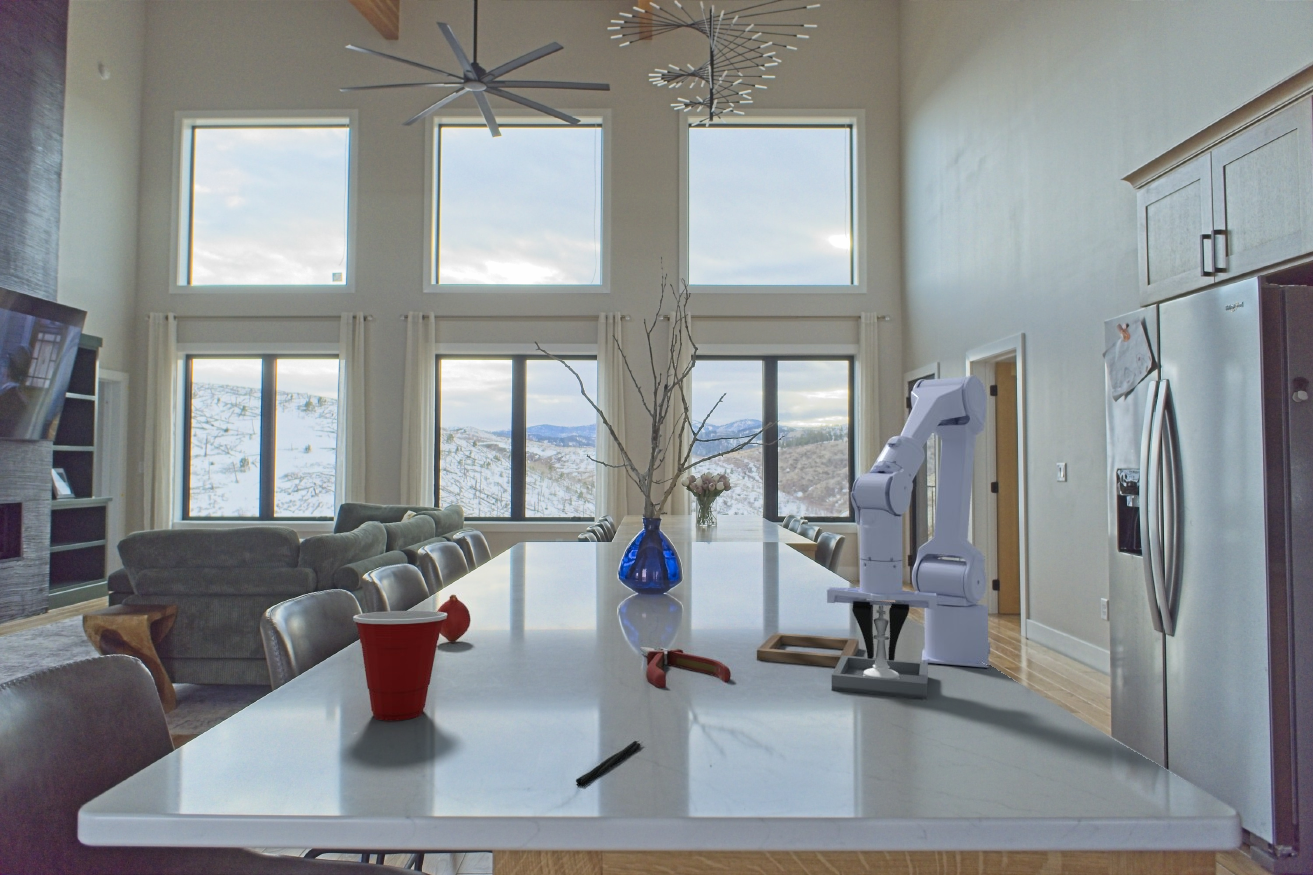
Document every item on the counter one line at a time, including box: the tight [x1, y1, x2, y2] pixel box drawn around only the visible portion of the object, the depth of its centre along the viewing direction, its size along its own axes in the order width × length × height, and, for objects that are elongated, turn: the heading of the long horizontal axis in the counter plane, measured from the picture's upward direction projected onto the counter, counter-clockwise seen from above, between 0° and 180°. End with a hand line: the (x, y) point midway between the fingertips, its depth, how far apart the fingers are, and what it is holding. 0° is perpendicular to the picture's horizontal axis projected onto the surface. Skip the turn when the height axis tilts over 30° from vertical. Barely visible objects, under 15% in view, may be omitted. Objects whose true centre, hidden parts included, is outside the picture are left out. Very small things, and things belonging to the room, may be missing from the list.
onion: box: [436, 594, 472, 643], centre depth 133 cm, size 6×6×8 cm
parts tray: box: [831, 655, 929, 700], centre depth 110 cm, size 12×12×2 cm
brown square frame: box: [756, 632, 860, 668], centre depth 127 cm, size 14×14×2 cm
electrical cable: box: [575, 739, 644, 787], centre depth 79 cm, size 12×1×1 cm, turn 154°
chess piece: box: [863, 605, 900, 679], centre depth 111 cm, size 5×5×10 cm
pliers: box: [639, 646, 732, 689], centre depth 118 cm, size 12×20×3 cm, turn 19°
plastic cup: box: [352, 610, 447, 722], centre depth 95 cm, size 11×11×12 cm
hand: (881, 658), depth 110 cm, fingers open, 2 cm apart
